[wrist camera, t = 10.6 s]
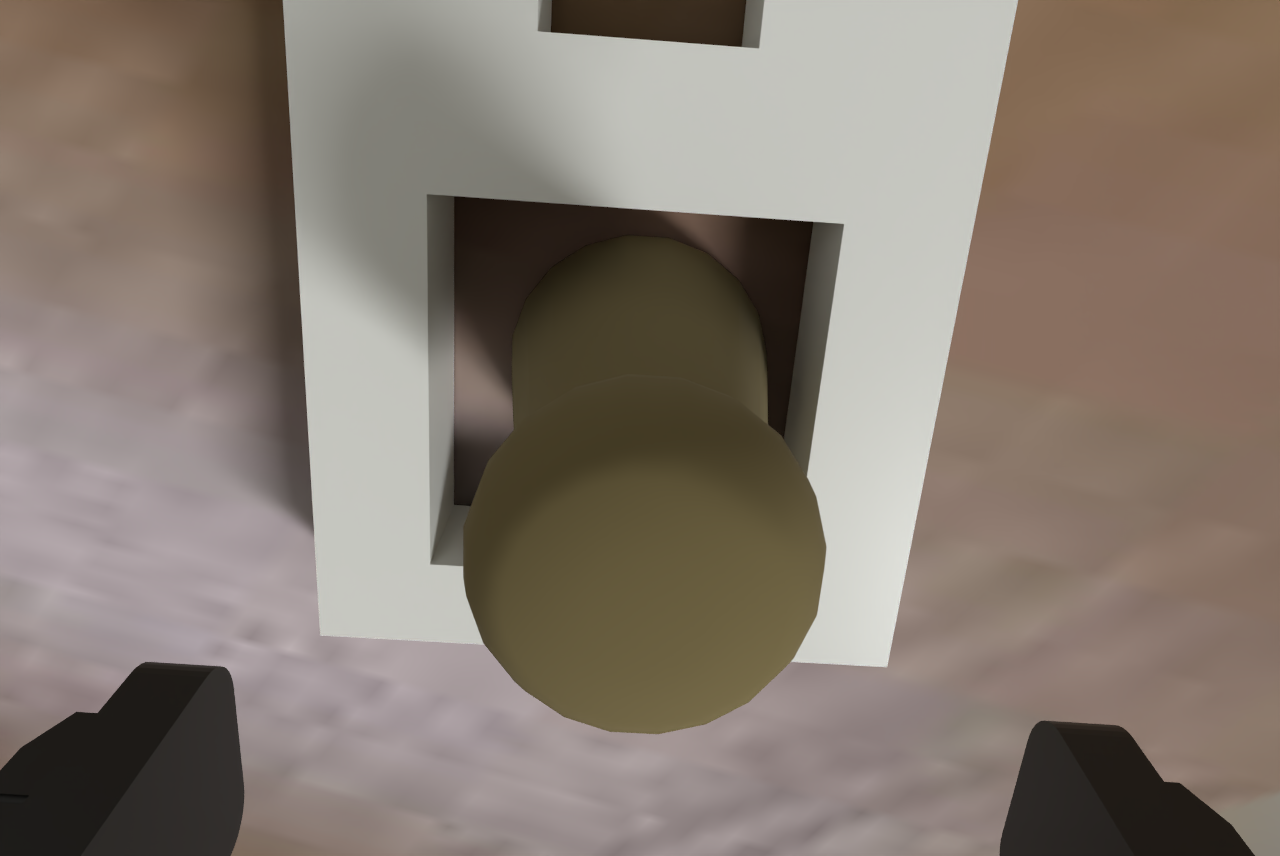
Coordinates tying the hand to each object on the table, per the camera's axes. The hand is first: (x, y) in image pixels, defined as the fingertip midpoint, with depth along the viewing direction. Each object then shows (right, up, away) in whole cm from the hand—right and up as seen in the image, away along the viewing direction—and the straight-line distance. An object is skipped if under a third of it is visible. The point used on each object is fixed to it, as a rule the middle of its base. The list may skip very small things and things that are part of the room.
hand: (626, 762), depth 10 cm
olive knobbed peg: (0, +5, +13) cm, 14 cm away
